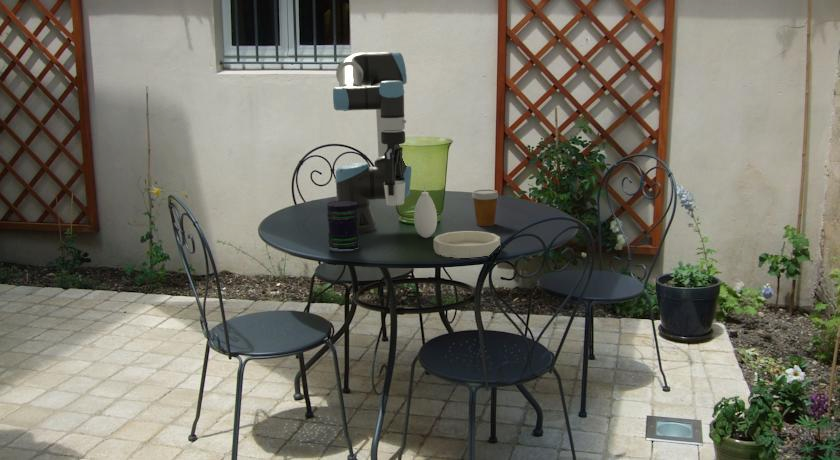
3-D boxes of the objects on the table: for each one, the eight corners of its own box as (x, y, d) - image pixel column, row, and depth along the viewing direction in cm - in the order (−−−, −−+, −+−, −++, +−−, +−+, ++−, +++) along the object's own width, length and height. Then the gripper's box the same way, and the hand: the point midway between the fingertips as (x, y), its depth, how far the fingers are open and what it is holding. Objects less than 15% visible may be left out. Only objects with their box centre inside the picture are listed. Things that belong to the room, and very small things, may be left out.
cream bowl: (428, 257, 272) (428, 244, 271) (441, 242, 291) (441, 230, 291) (494, 259, 267) (494, 246, 267) (503, 243, 287) (503, 231, 286)
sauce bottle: (414, 234, 303) (413, 183, 299) (437, 234, 303) (436, 182, 299) (414, 240, 296) (412, 186, 292) (437, 239, 295) (436, 186, 292)
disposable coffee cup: (497, 227, 311) (496, 194, 308) (470, 227, 313) (469, 193, 310) (500, 222, 320) (500, 189, 318) (474, 221, 322) (473, 189, 319)
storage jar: (334, 253, 280) (332, 207, 277) (324, 247, 289) (322, 202, 286) (363, 249, 284) (362, 204, 281) (353, 243, 293) (351, 199, 289)
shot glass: (390, 206, 277) (389, 184, 275) (380, 203, 283) (380, 181, 281) (409, 204, 280) (409, 182, 278) (400, 200, 286) (399, 179, 284)
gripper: (396, 134, 266) (399, 209, 271) (411, 127, 285) (413, 197, 290) (372, 134, 268) (375, 208, 273) (389, 127, 286) (391, 197, 292)
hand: (395, 202), depth 281 cm, fingers closed on shot glass, 7 cm apart
